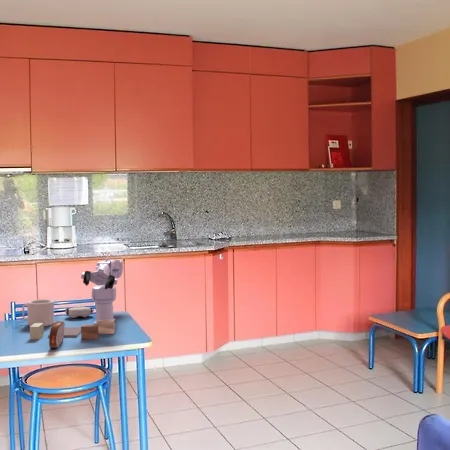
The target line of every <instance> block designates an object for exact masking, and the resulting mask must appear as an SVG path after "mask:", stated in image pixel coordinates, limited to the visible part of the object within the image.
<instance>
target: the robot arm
mask: <svg viewBox="0 0 450 450" xmlns="http://www.w3.org/2000/svg"><path fill="white" fill-rule="evenodd" d="M95 266H96V267H95V271H90V270H85V271H84V272H82V273H81V276H80V279H82V283H83V284H84V285H85V286H88V285H90V283H92V284H94V285H96V286H93V288H92V289H91V300H92V301H93V302H94V304H95V321H94V322H93V324H98V321H99V320H115V321H116V318H114V304H113V302H115V300H116V298H117V287H116V286H115V285H117V284H118V279H120V278H121V277H122V276H123V271H124V263H123V260H121V259H120V260H119V259H109V258H105V259H103V260H101V261H97V262H96V265H95Z"/></svg>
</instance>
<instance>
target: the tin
mask: <svg viewBox="0 0 450 450" xmlns="http://www.w3.org/2000/svg"><path fill="white" fill-rule="evenodd" d="M64 327H65V322H64V321H62V320H60V321H58V320H56V321H54V323H53V324H52V325H51V327H50V331H49V334H50V336H49V337H48V338H49V339H48V345H49V348H50V349H58V348H59V347H60V346H61V344H62V343H63V341H64V339H65V337H64Z"/></svg>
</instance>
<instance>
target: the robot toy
mask: <svg viewBox="0 0 450 450" xmlns="http://www.w3.org/2000/svg"><path fill="white" fill-rule="evenodd" d="M94 311H95V309H94V308H91V307H90V306H83V305H74V306H72V307H67V308H65V312H64V313H65V314H66V315H67V316H69V317H70V318H72V319H77V318H78V317H82V318H87V317H89V316H91V314H93V312H94Z"/></svg>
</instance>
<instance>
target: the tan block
mask: <svg viewBox="0 0 450 450" xmlns="http://www.w3.org/2000/svg"><path fill="white" fill-rule="evenodd" d="M115 322H116V319H115V320H99V321H98V328H99V335H111V334H112V335H114V333H116V332H115V330H116V329H115V327H116V325H115Z"/></svg>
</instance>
